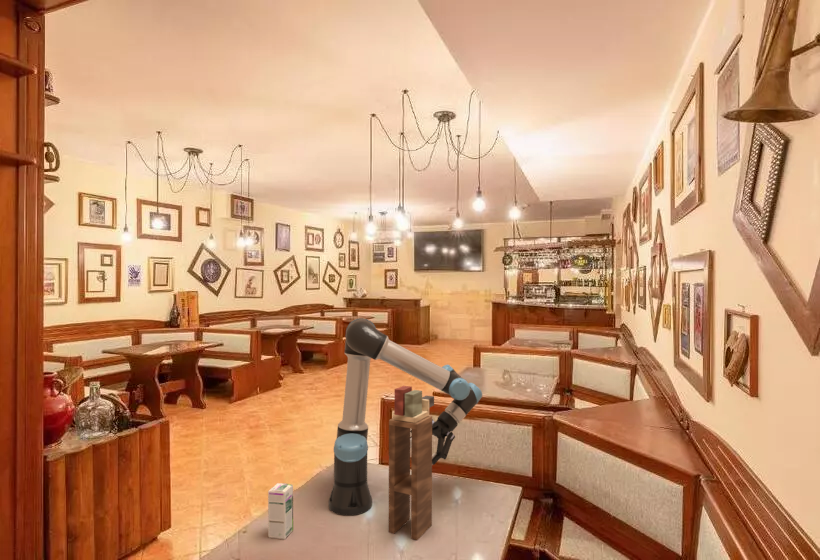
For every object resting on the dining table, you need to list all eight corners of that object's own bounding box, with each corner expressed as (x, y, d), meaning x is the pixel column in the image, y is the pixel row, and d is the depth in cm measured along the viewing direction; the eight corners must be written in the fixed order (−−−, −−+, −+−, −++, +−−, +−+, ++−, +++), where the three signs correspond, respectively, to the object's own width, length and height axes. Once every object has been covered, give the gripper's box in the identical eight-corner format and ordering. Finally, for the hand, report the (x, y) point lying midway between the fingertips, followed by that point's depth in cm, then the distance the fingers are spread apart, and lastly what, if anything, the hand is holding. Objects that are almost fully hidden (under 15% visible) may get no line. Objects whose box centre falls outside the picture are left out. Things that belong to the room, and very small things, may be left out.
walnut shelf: (388, 532, 147) (389, 420, 148) (404, 518, 156) (405, 412, 157) (416, 540, 143) (417, 424, 143) (431, 525, 152) (432, 416, 152)
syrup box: (285, 539, 143) (285, 491, 143) (267, 537, 144) (267, 489, 144) (293, 530, 148) (294, 484, 149) (276, 528, 149) (276, 482, 150)
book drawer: (392, 419, 148) (392, 389, 148) (419, 406, 165) (419, 378, 165) (415, 422, 144) (415, 391, 144) (440, 409, 161) (440, 381, 161)
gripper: (477, 437, 173) (438, 483, 165) (435, 410, 193) (399, 450, 185) (468, 425, 169) (429, 471, 162) (427, 398, 189) (390, 438, 182)
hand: (413, 460), depth 174 cm, fingers open, 13 cm apart
